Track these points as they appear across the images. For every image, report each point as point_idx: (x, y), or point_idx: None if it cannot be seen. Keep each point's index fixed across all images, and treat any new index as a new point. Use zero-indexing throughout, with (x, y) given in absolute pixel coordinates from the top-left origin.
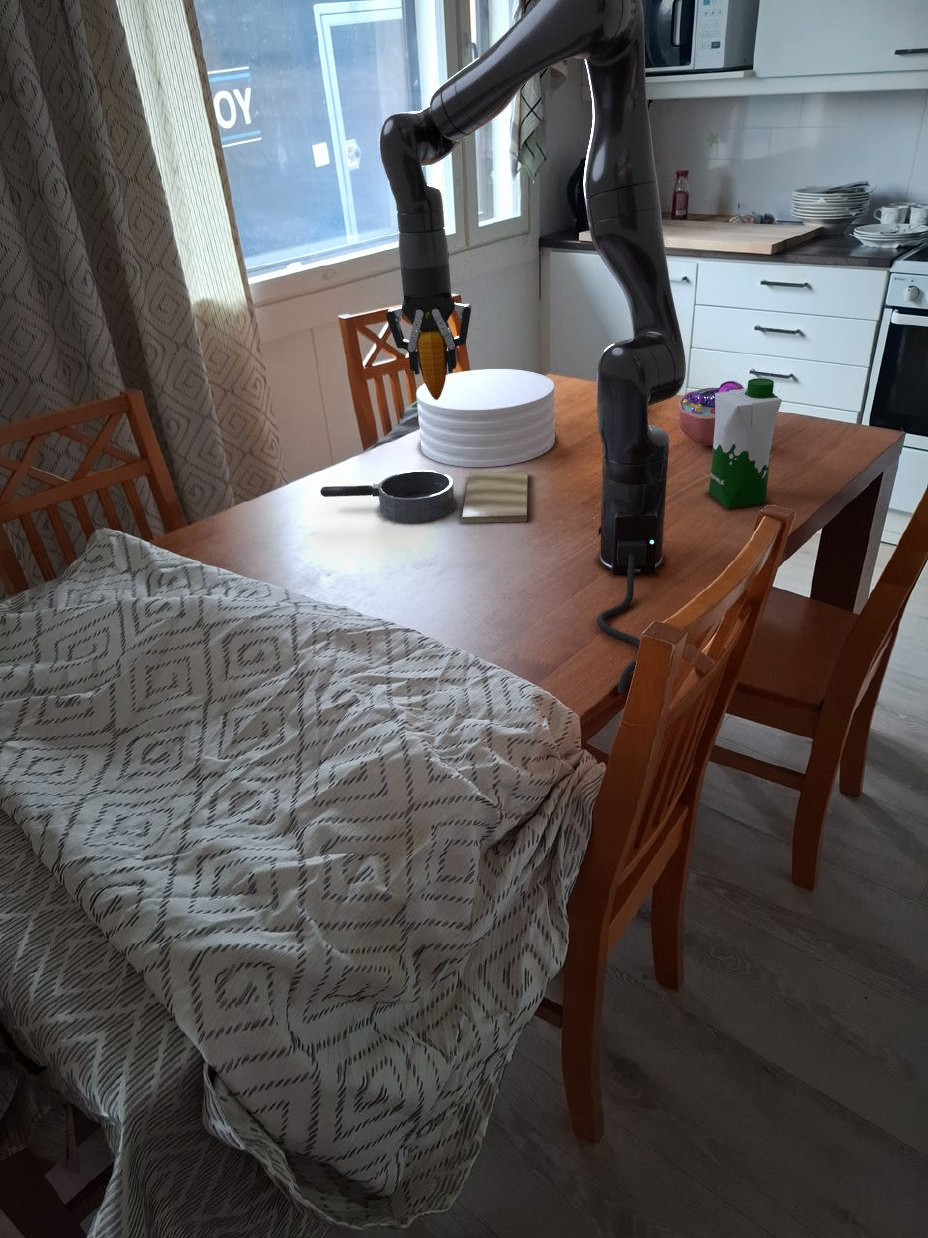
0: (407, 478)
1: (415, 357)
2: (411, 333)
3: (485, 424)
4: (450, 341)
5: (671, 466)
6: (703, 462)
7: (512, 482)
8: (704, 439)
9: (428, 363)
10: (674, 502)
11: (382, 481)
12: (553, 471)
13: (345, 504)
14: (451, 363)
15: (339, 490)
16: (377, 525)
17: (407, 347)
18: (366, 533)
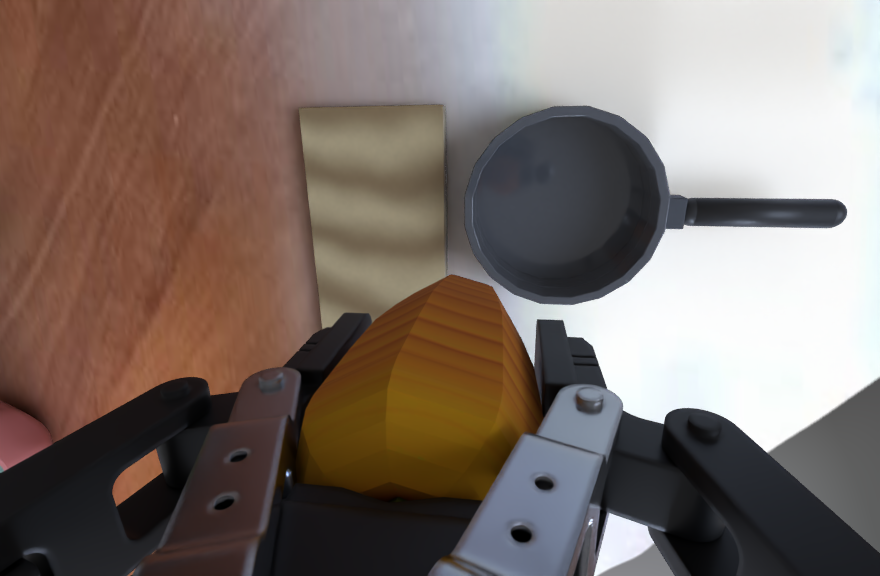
0: (587, 287)
1: (554, 364)
2: (593, 465)
3: None
4: (258, 397)
5: (81, 351)
6: (35, 360)
7: (348, 289)
8: (12, 408)
9: (462, 303)
10: (48, 187)
11: (657, 240)
12: (282, 359)
13: (746, 237)
14: (330, 328)
15: (786, 202)
16: (657, 102)
17: (623, 424)
18: (686, 51)
